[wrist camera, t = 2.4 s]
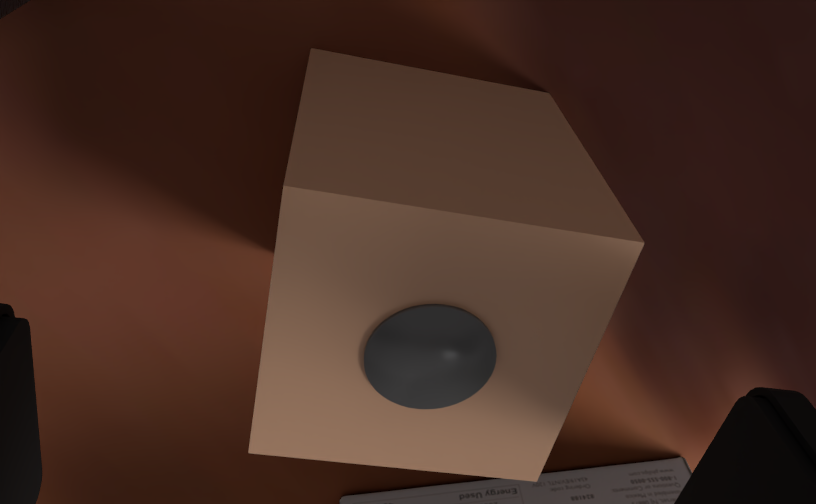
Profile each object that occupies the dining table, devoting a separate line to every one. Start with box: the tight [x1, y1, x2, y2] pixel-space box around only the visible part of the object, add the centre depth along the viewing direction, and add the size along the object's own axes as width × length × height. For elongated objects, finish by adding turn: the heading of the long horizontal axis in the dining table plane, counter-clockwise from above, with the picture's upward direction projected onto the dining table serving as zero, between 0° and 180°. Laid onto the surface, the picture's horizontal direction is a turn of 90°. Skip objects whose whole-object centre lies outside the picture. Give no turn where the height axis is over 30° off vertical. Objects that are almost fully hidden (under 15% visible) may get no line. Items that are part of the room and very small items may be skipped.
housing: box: [248, 48, 644, 482], centre depth 13 cm, size 5×5×6 cm
